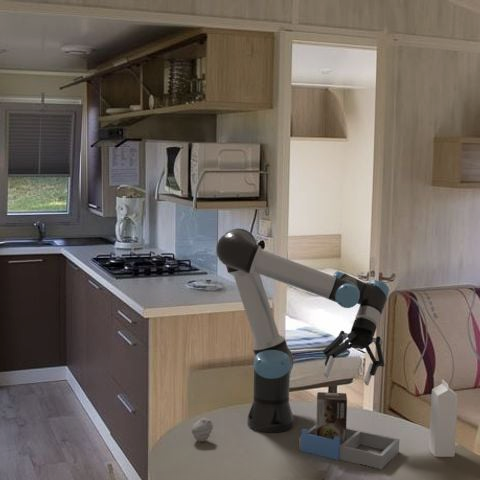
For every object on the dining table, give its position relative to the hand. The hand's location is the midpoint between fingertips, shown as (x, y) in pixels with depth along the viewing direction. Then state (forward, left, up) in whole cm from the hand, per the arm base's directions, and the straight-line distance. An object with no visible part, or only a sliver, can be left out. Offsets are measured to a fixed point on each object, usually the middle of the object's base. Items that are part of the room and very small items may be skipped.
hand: (345, 379), depth 233 cm
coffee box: (0, -10, -19) cm, 21 cm away
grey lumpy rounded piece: (-35, -27, -19) cm, 48 cm away
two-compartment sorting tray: (+6, -9, -19) cm, 22 cm away
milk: (+30, +5, -19) cm, 36 cm away
